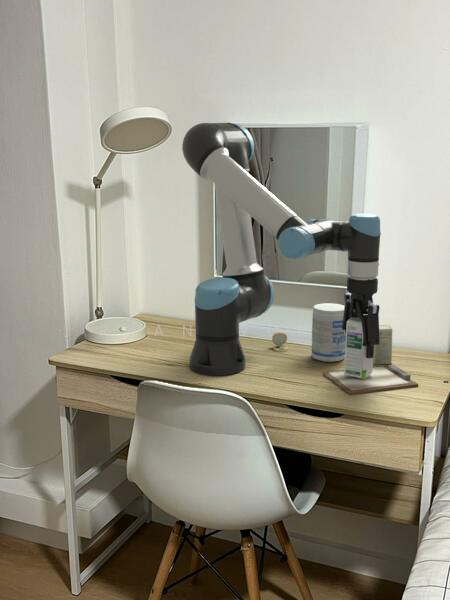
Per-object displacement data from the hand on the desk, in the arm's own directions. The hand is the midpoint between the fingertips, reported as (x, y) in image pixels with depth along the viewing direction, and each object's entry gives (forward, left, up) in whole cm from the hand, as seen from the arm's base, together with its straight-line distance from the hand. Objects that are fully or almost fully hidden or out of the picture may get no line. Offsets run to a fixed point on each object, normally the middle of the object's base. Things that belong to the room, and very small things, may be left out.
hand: (358, 363), depth 179 cm
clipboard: (+2, +2, -4) cm, 5 cm away
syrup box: (0, 0, -3) cm, 3 cm away
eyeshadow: (-29, -10, -4) cm, 31 cm away
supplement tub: (-18, 0, -4) cm, 19 cm away
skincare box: (-10, +12, -4) cm, 17 cm away
